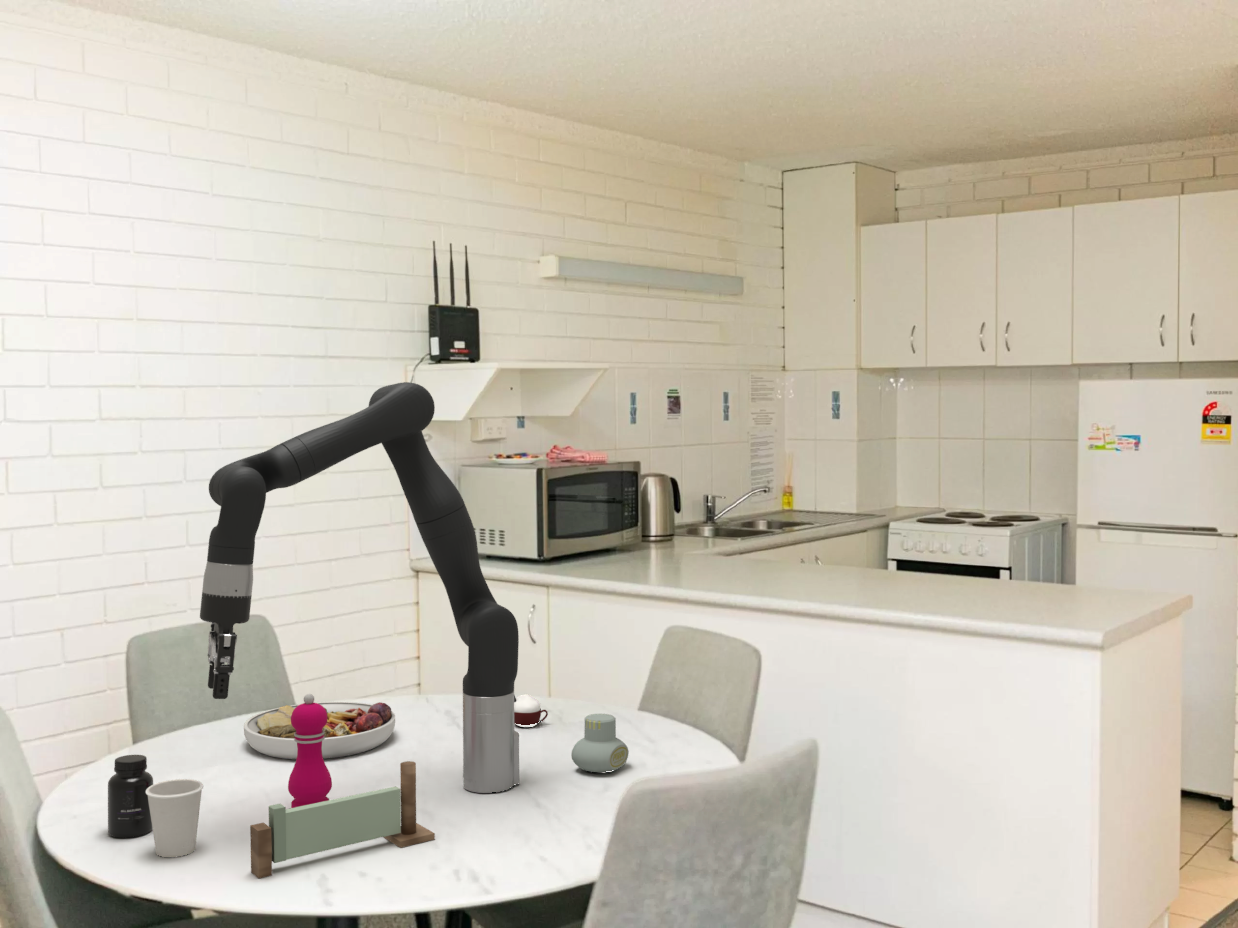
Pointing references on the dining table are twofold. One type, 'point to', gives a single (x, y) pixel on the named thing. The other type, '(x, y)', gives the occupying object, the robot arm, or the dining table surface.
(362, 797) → the panel
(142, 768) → the supplement bottle
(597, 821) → the dining table surface
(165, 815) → the dixie cup
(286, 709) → the bowl
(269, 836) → the wooden pieces
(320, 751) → the pepper mill
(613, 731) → the air freshener
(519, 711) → the cocoa
